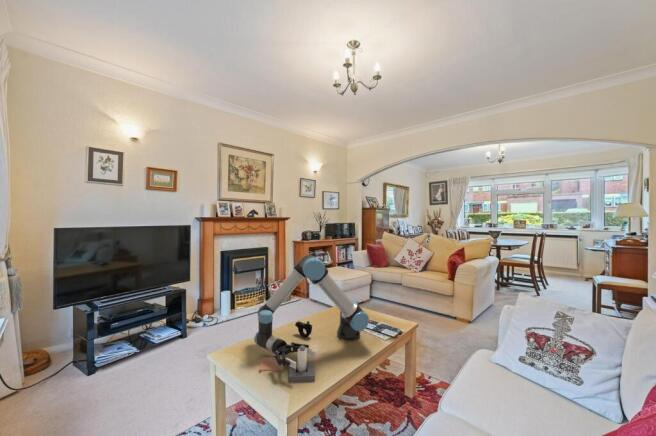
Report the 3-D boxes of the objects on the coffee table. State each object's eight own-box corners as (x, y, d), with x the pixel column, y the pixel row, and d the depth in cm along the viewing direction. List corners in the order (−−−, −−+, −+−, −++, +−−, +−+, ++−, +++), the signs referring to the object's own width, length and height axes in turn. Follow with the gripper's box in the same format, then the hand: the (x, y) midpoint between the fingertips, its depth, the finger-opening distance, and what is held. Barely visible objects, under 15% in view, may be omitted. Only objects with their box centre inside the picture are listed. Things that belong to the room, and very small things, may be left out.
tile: (284, 358, 150) (284, 356, 150) (283, 371, 138) (283, 369, 138) (262, 359, 148) (262, 357, 148) (258, 372, 136) (259, 370, 136)
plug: (306, 371, 137) (306, 344, 137) (306, 376, 133) (307, 348, 132) (297, 371, 137) (297, 344, 136) (297, 376, 132) (297, 348, 132)
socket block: (313, 367, 141) (313, 362, 141) (314, 382, 129) (314, 375, 129) (289, 368, 140) (289, 362, 140) (288, 383, 128) (289, 376, 128)
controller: (309, 339, 173) (309, 323, 172) (293, 334, 179) (294, 319, 179) (313, 337, 176) (313, 321, 176) (298, 332, 183) (298, 317, 183)
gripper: (293, 344, 156) (322, 357, 143) (257, 362, 136) (286, 379, 123) (293, 331, 156) (322, 343, 142) (257, 347, 136) (286, 362, 123)
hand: (305, 359), depth 133 cm, fingers open, 13 cm apart
